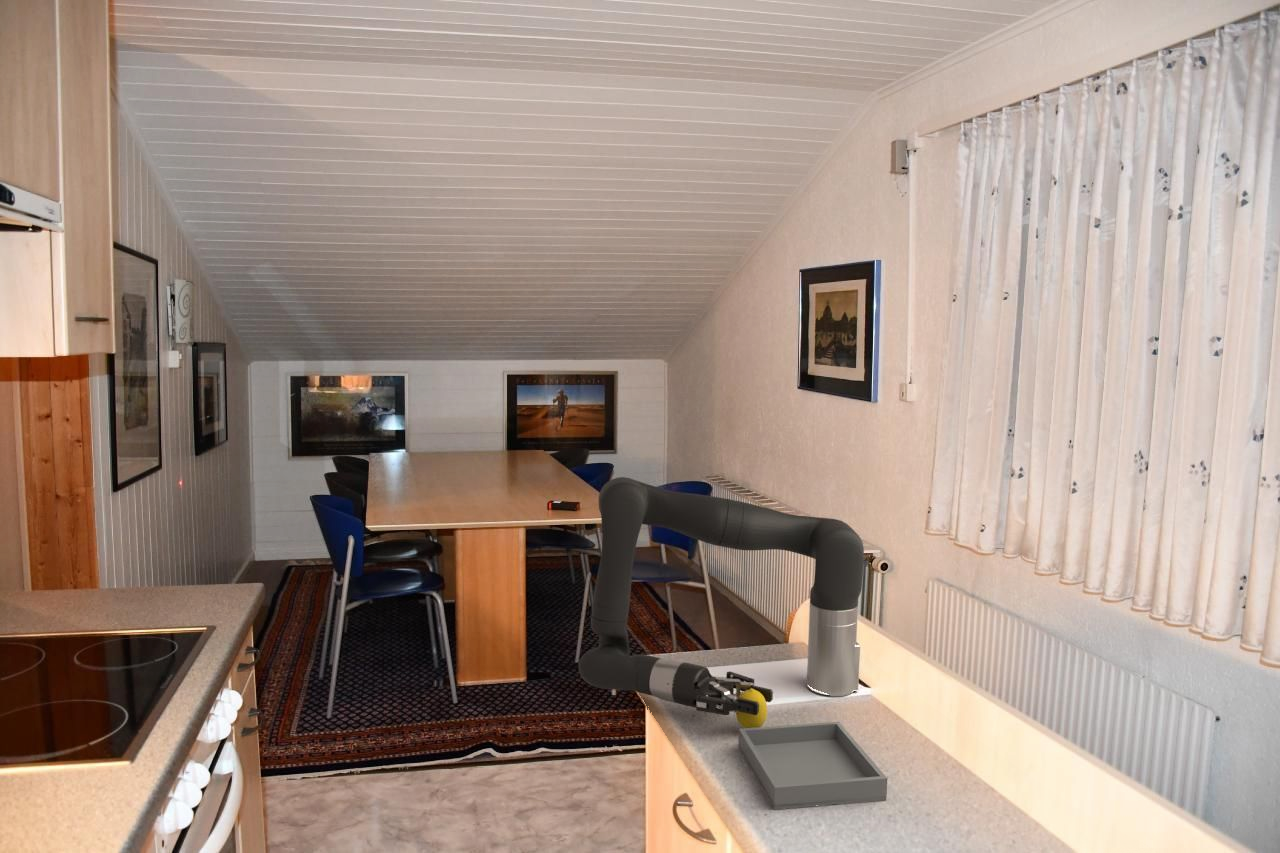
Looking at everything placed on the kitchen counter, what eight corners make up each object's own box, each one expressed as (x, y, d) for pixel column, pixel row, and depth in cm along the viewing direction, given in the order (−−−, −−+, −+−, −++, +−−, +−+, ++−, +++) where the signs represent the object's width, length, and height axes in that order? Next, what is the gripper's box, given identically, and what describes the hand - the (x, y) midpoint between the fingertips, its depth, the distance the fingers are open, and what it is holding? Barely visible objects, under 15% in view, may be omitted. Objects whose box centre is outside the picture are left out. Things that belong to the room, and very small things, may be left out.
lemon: (746, 741, 171) (747, 697, 170) (729, 728, 176) (730, 685, 175) (772, 734, 174) (774, 691, 173) (754, 722, 179) (756, 680, 178)
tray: (838, 741, 172) (838, 721, 171) (886, 800, 152) (887, 778, 152) (738, 748, 169) (738, 728, 168) (774, 809, 149) (775, 787, 149)
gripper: (661, 676, 175) (749, 696, 166) (697, 650, 187) (781, 668, 179) (660, 716, 176) (748, 738, 167) (697, 688, 188) (780, 707, 180)
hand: (764, 702), depth 173 cm, fingers open, 5 cm apart
